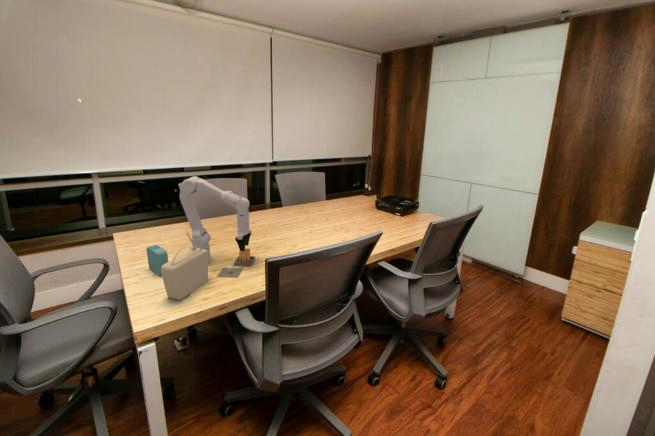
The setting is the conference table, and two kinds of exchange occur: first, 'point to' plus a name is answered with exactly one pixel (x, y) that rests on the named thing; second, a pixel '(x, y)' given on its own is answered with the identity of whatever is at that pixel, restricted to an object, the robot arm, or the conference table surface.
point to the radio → (185, 272)
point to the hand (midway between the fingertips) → (244, 248)
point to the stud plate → (225, 273)
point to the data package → (156, 258)
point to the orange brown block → (244, 256)
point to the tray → (243, 262)
